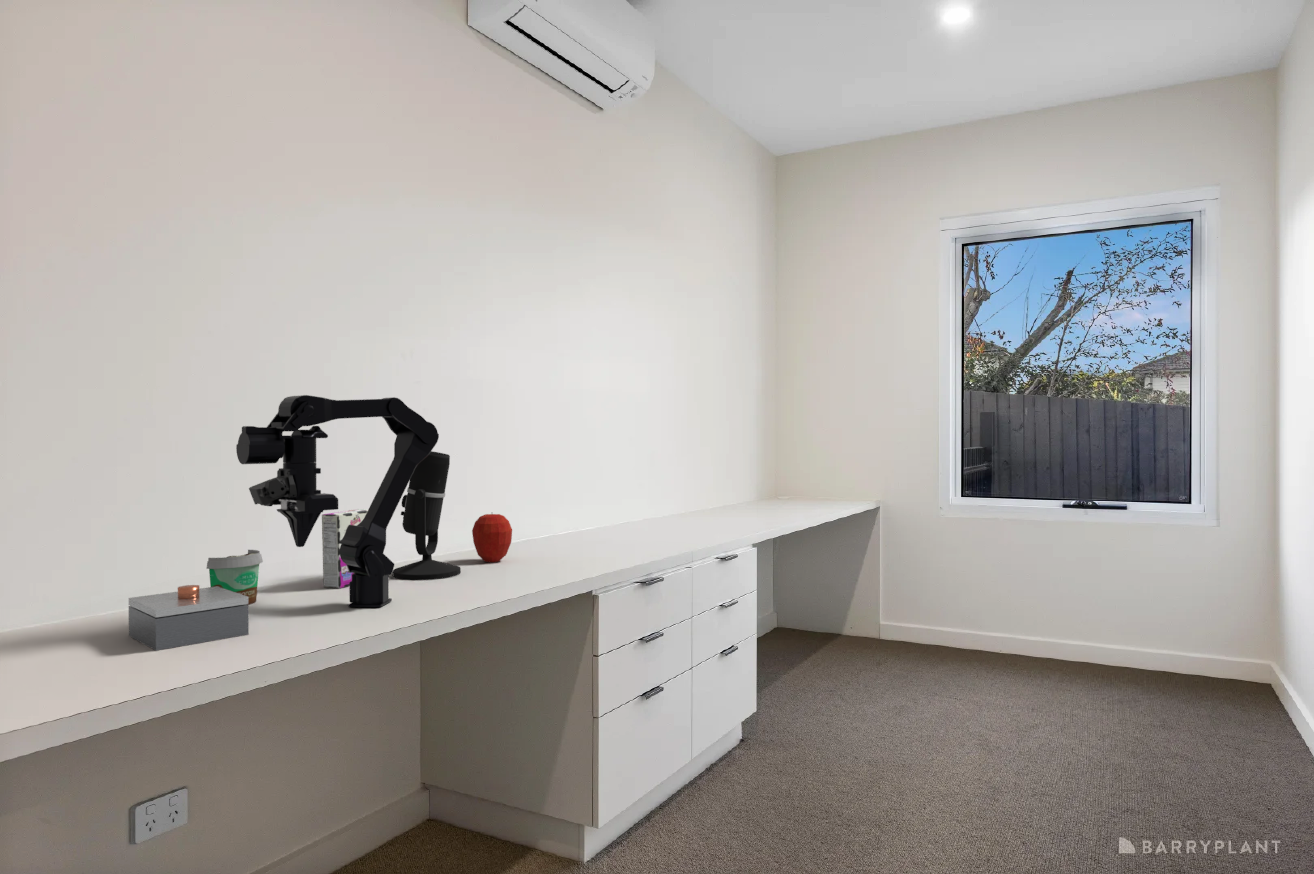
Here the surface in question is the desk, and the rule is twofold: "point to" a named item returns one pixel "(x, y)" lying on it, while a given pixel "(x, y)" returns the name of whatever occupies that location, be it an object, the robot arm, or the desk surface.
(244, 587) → the food container
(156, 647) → the grey storage bin
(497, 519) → the apple
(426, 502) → the microphone
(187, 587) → the lid
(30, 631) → the desk surface
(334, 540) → the candy bar box
